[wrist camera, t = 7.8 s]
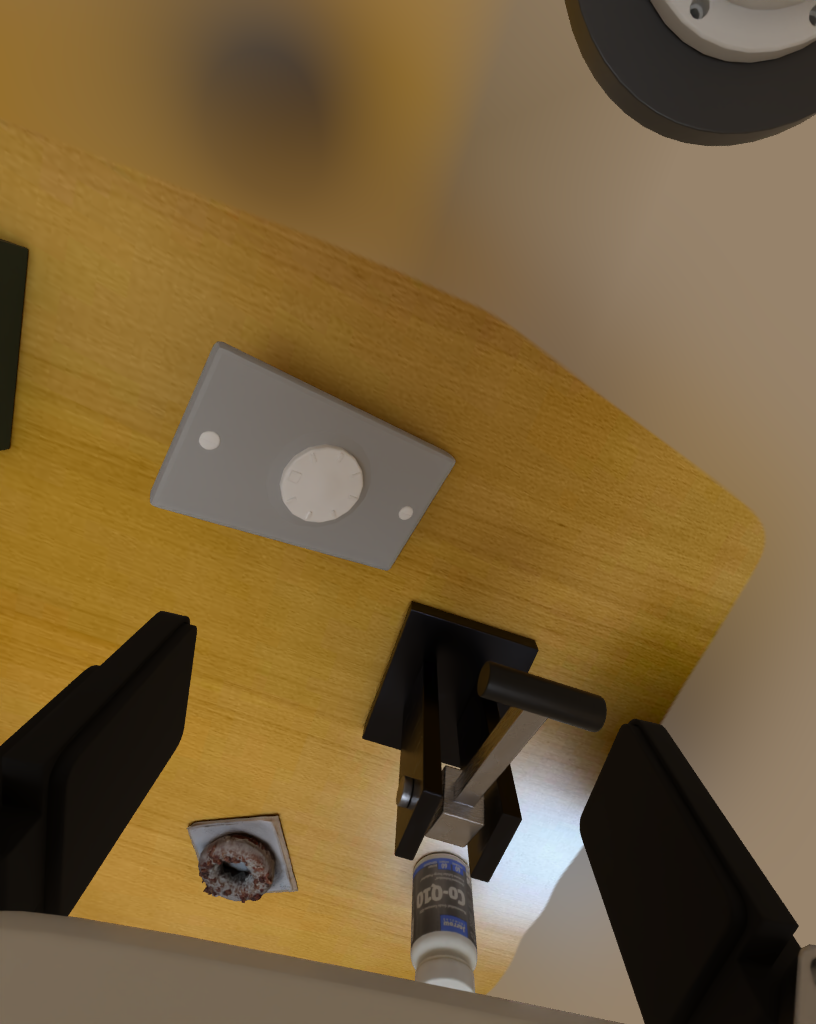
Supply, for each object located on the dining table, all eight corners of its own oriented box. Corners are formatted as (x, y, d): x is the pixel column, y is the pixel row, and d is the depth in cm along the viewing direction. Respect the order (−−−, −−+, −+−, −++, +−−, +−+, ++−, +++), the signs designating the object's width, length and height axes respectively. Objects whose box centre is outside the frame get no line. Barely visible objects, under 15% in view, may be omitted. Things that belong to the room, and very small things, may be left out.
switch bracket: (411, 600, 33) (405, 723, 22) (535, 640, 34) (591, 779, 22) (363, 727, 36) (336, 891, 25) (477, 761, 37) (501, 936, 25)
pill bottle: (465, 847, 39) (476, 971, 31) (473, 890, 41) (486, 1020, 33) (407, 853, 40) (403, 978, 32) (417, 895, 41) (416, 1025, 33)
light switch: (394, 581, 31) (147, 516, 23) (364, 532, 35) (150, 463, 27) (465, 466, 29) (219, 348, 20) (424, 430, 33) (210, 322, 25)
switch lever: (489, 644, 20) (490, 693, 18) (600, 679, 21) (613, 731, 19) (404, 782, 27) (398, 829, 25) (488, 807, 27) (489, 855, 25)
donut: (185, 820, 39) (172, 844, 37) (279, 814, 39) (271, 838, 37) (209, 895, 42) (199, 921, 40) (298, 890, 41) (291, 916, 39)
